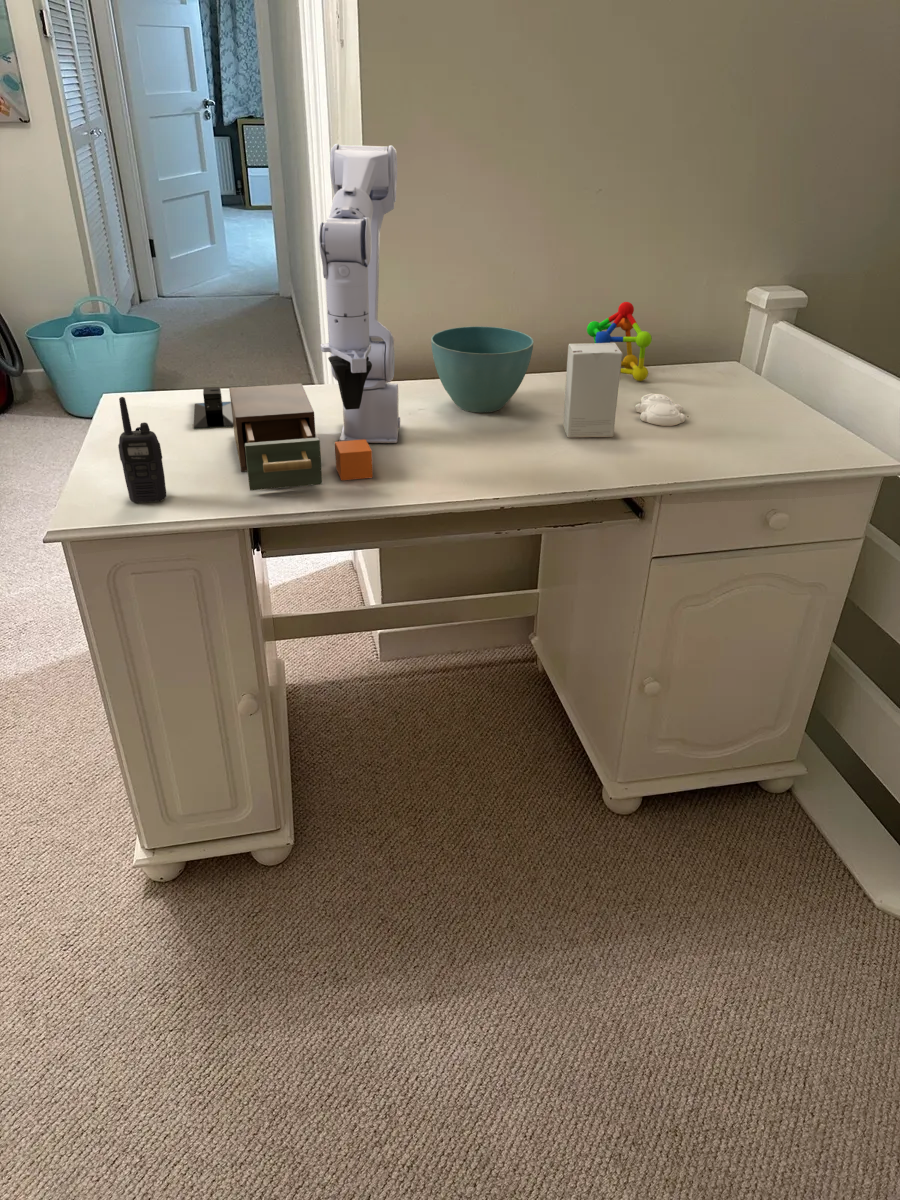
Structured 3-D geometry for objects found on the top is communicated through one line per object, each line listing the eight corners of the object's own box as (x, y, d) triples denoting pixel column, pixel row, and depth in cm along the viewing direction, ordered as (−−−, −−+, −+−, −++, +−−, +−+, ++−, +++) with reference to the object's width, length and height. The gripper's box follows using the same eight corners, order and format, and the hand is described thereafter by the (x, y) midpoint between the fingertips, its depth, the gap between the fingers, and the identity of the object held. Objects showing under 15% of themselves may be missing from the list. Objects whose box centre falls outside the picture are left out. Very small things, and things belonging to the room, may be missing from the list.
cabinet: (317, 465, 134) (314, 411, 129) (241, 471, 131) (235, 417, 127) (305, 433, 145) (301, 383, 141) (234, 438, 143) (229, 387, 138)
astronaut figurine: (680, 405, 162) (683, 389, 161) (686, 427, 152) (688, 411, 151) (633, 402, 163) (635, 386, 162) (635, 424, 153) (638, 407, 152)
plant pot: (473, 429, 149) (476, 359, 142) (410, 401, 161) (410, 334, 154) (548, 409, 159) (554, 342, 152) (484, 384, 170) (487, 321, 164)
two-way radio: (126, 505, 120) (106, 400, 112) (131, 492, 124) (112, 390, 116) (167, 503, 121) (150, 399, 113) (170, 490, 125) (154, 388, 117)
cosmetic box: (607, 426, 152) (617, 341, 144) (613, 439, 147) (625, 351, 139) (559, 426, 151) (568, 340, 144) (564, 438, 146) (573, 351, 138)
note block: (372, 477, 130) (371, 450, 128) (341, 480, 129) (339, 453, 127) (366, 465, 134) (365, 439, 132) (335, 468, 133) (334, 441, 131)
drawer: (327, 498, 122) (325, 452, 118) (252, 505, 119) (248, 459, 116) (309, 451, 136) (307, 409, 133) (242, 456, 134) (238, 414, 130)
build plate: (236, 427, 147) (233, 401, 145) (192, 430, 146) (188, 403, 143) (234, 403, 157) (231, 378, 155) (193, 405, 156) (189, 380, 153)
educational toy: (573, 372, 182) (578, 298, 175) (628, 369, 185) (635, 296, 178) (604, 388, 168) (610, 308, 162) (663, 384, 172) (672, 306, 165)
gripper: (311, 301, 124) (317, 393, 131) (327, 326, 112) (332, 426, 119) (360, 299, 126) (362, 390, 133) (380, 324, 114) (382, 422, 121)
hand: (351, 407), depth 126 cm, fingers closed
